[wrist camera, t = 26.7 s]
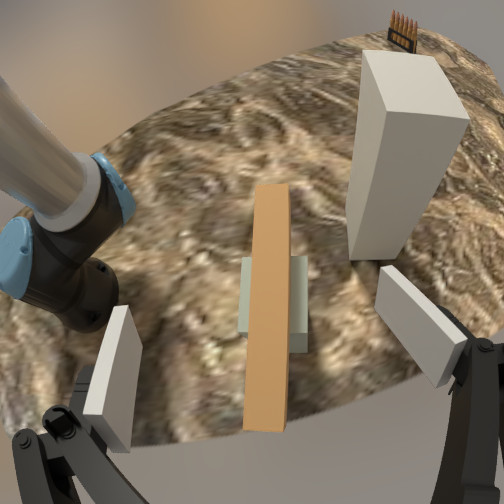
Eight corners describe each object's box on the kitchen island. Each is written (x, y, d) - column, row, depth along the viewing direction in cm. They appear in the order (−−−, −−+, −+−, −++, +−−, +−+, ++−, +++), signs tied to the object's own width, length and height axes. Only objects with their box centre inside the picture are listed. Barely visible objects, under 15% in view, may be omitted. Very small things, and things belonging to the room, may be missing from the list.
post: (349, 260, 50) (386, 111, 21) (345, 207, 54) (362, 49, 25) (395, 259, 49) (470, 119, 20) (387, 207, 52) (433, 56, 24)
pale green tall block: (268, 352, 47) (237, 331, 27) (270, 308, 49) (242, 257, 29) (307, 353, 46) (307, 332, 26) (308, 308, 48) (307, 255, 28)
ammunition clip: (415, 53, 70) (420, 22, 59) (412, 54, 70) (416, 23, 59) (390, 38, 75) (393, 8, 64) (387, 39, 74) (389, 9, 64)
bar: (250, 424, 23) (242, 429, 21) (260, 202, 31) (255, 185, 29) (286, 426, 23) (283, 432, 20) (290, 200, 31) (288, 183, 28)
